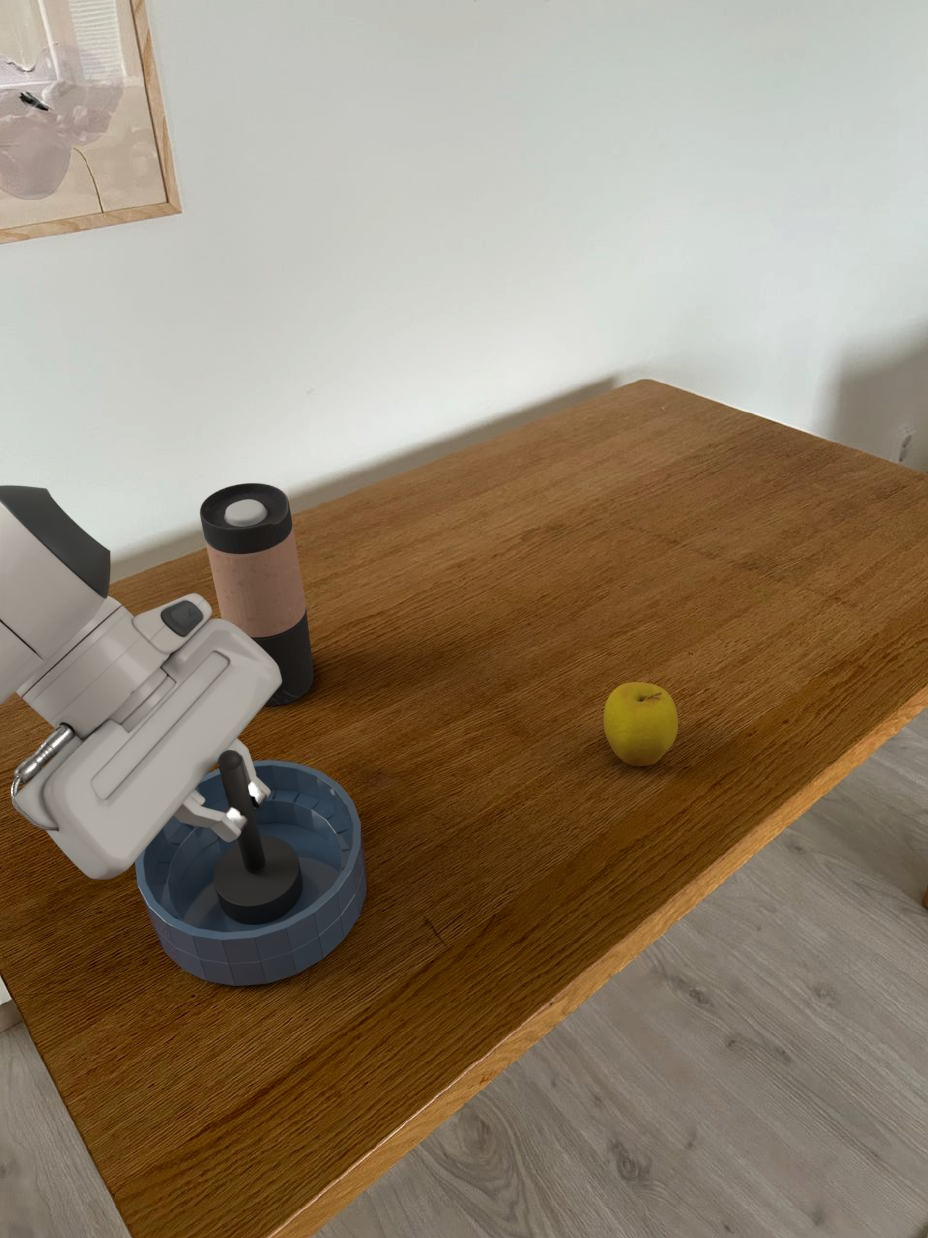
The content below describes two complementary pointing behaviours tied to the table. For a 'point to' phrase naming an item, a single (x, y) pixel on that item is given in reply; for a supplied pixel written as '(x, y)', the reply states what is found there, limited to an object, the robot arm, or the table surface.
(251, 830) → the joystick
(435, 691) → the table surface
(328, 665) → the table surface
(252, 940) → the bowl
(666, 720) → the yellow fruit
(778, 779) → the table surface
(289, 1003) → the table surface
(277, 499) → the travel mug
